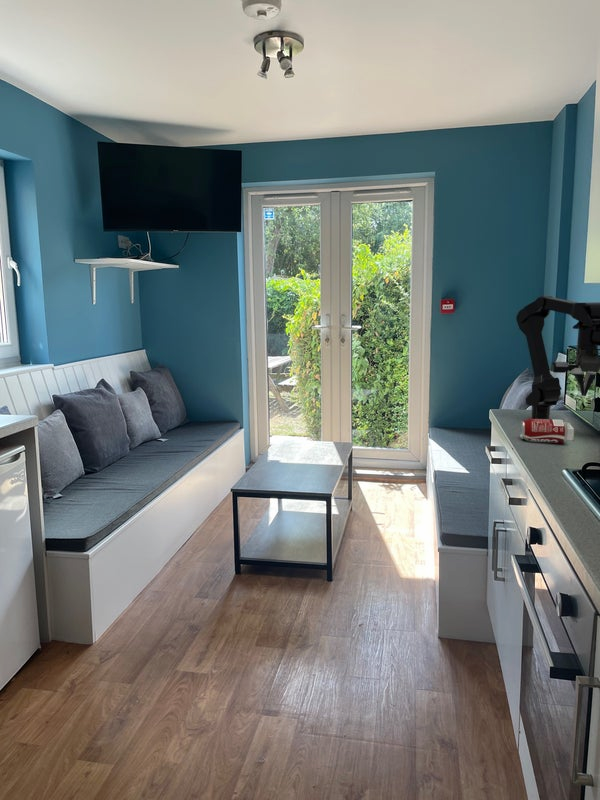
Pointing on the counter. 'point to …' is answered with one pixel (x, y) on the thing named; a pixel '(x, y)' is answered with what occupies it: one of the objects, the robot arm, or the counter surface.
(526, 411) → the counter surface
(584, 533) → the counter surface
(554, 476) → the counter surface
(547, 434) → the soda can
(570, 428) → the bin
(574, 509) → the counter surface
